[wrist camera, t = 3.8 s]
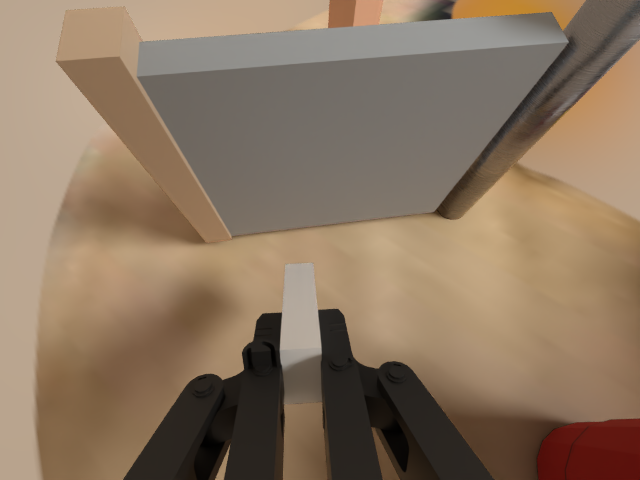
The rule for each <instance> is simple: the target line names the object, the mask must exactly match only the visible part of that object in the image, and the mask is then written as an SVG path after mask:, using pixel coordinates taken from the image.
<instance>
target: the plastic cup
mask: <svg viewBox="0 0 640 480" xmlns="http://www.w3.org/2000/svg"><path fill="white" fill-rule="evenodd" d="M537 466H538V480H640V419H615V420H607V421H604V422H576V423H573V424H570V425H566V426H563V427H560V428H556V429H554V430H553V431H552V432H551V433H550V434H549V435H548V436H547V437H546V438H545V439H544V440H543V441H542V445H541V448H540V451H539V454H538V458H537Z"/></svg>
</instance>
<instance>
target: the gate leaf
mask: <svg viewBox="0 0 640 480" xmlns="http://www.w3.org/2000/svg"><path fill="white" fill-rule="evenodd" d="M568 43H569V41H568V40H567V38H566V36H565V34H564V33H563V31H562V29H561V28H560V26H559V24H558V22H557V20H556V19H555V17H554V15H553V14H552V12H546V13H534V14H519V15H505V16H491V17H477V18H464V19H450V20H436V21H422V22H408V23H394V24H380V25H367V26H353V27H339V28H325V29H311V30H297V31H284V32H270V33H257V34H242V35H228V36H214V37H201V38H187V39H175V40H174V39H173V40H159V41H146V42H143V41H142V39H141V37H140V35H139V33H138V31H137V29H136V27H135V26H134V23H133V22H132V20H131V18H130V16H129V14H128V12H127V10H126V8H125V7H108V8H93V9H77V10H66V12H65V17H64V22H63V27H62V32H61V37H60V42H59V47H58V52H57V57H56V62H57V63H58V65H59V66H60V67H61V68H62V69H63V71H64V72H65V73H66V74H67V75H68V77H69V78H70V79H71V80H72V81H73V83H74V84H75V85H76V86H77V87H78V89H79V90H80V91H81V92H82V94H83V95H84V96H85V97H86V98H87V99H88V101H89V102H90V103H91V104H92V105H93V107H94V108H95V109H96V110H97V112H98V113H99V114H100V115H101V116H102V118H103V119H104V120H105V121H106V122H107V124H108V125H109V126H110V127H111V128H112V130H113V131H114V132H115V133H116V134H117V136H118V137H119V138H120V139H121V140H122V142H123V143H124V144H125V145H126V146H127V148H128V149H129V150H130V151H131V153H132V154H133V155H134V156H135V157H136V159H137V160H138V161H139V162H140V163H141V165H142V166H143V167H144V168H145V169H146V171H147V172H148V173H149V174H150V175H151V177H152V178H153V179H154V180H155V181H156V183H157V184H158V185H159V186H160V187H161V189H162V190H163V191H164V192H165V193H166V195H167V196H168V197H169V198H170V199H171V201H172V202H173V203H174V204H175V206H176V207H177V208H178V209H179V210H180V212H181V213H182V214H183V215H184V216H185V218H186V219H187V220H188V221H189V222H190V224H191V225H192V226H193V227H194V228H195V230H196V231H197V232H198V233H199V234H200V236H201V237H202V238H203V239H204V240H205V242H206V243H210V242H218V241H226V240H232V236H236V235H244V234H253V233H261V232H270V231H278V230H287V229H295V228H304V227H312V226H321V225H329V224H337V223H346V222H354V221H363V220H371V219H380V218H388V217H397V216H405V215H414V214H422V213H431V212H434V211H435V210H436V209H437V208H438V206H439V205H440V204H441V203H442V201H443V200H444V199H445V197H446V196H447V195H448V194H449V192H450V191H451V190H452V189H453V187H454V186H455V185H456V184H457V182H458V181H459V180H460V179H461V177H462V176H463V175H464V174H465V172H466V171H467V170H468V169H469V167H470V166H471V165H472V163H473V162H474V161H475V160H476V158H477V157H478V156H479V155H480V153H481V152H482V151H483V150H484V148H485V147H486V146H487V145H488V143H489V142H490V141H491V140H492V138H493V137H494V136H495V134H496V133H497V132H498V131H499V129H500V128H501V127H502V126H503V124H504V123H505V122H506V121H507V119H508V118H509V117H510V116H511V114H512V113H513V112H514V111H515V109H516V108H517V107H518V106H519V104H520V103H521V102H522V100H523V99H524V98H525V97H526V95H527V94H528V93H529V92H530V90H531V89H532V88H533V87H534V85H535V84H536V83H537V82H538V80H539V79H540V78H541V77H542V75H543V74H544V73H545V72H546V70H547V69H548V68H549V66H550V65H551V64H552V63H553V61H554V60H555V59H556V58H557V56H558V55H559V54H560V53H561V51H562V50H563V49H564V48H565V46H566V45H567V44H568Z"/></svg>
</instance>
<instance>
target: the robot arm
mask: <svg viewBox="0 0 640 480" xmlns="http://www.w3.org/2000/svg"><path fill="white" fill-rule="evenodd" d="M242 357H243V364H244V370H243V371H242V372H241V373H239V374H238V375H236V376H233V377H231V378H228V379H224V380H222V379H221V378H220V377H219V376H217V375H214V374H204V375H201V376H198V377H196V378H194V379H193V380H191V381H190V382H189V383H188V384H187V386H186V387H185V388H184V390H183V391H182V393H181V394H180V396H179V397H178V399H177V400H176V402H175V403H174V405H173V406H172V408H171V409H170V411H169V412H168V414H167V415H166V417H165V418H164V419H163V421H162V422H161V424H160V425H159V427H158V428H157V430H156V431H155V433H154V434H153V436H152V437H151V439H150V440H149V442H148V443H147V445H146V446H145V448H144V449H143V451H142V452H141V454H140V455H139V457H138V458H137V460H136V461H135V463H134V464H133V466H132V467H131V469H130V470H129V472H128V473H127V475H126V476H125V477H124V479H123V480H215V478H216V475H217V473H218V471H219V468H220V466H221V464H222V462H223V459H224V457H225V455H226V452H227V450H228V448H229V445H230V443H231V445H230V450H229V455H228V461H227V466H226V472H225V477H224V480H283V453H284V424H285V415H284V404H299V403H314V402H322V406H323V428H324V438H325V450H326V463H327V476H328V480H383V479H382V475H381V470H380V466H379V461H378V457H377V452H376V448H375V443H374V439H373V434H372V430H371V427H375V429H376V432H377V434H378V436H379V438H380V440H381V442H382V444H383V446H384V448H385V450H386V452H387V454H388V456H389V458H390V460H391V462H392V464H393V466H394V468H395V470H396V472H397V474H398V476H399V478H400V480H494V479H493V477H492V476H491V475H490V473H489V472H488V471H487V469H486V468H485V467H484V465H483V464H482V463H481V461H480V460H479V459H478V457H477V456H476V455H475V453H474V452H473V451H472V449H471V448H470V447H469V445H468V444H467V443H466V441H465V440H464V439H463V437H462V436H461V435H460V433H459V432H458V431H457V429H456V428H455V427H454V425H453V424H452V423H451V421H450V420H449V419H448V417H447V416H446V414H445V413H444V412H443V410H442V409H441V408H440V406H439V405H438V404H437V402H436V401H435V400H434V398H433V397H432V396H431V394H430V393H429V392H428V390H427V389H426V388H425V386H424V385H423V384H422V382H421V381H420V380H419V378H418V377H417V376H416V374H415V373H414V372H413V370H412V369H410V368H409V367H408V366H407V365H405V364H403V363H400V362H395V361H393V362H387V363H384V364H382V365H381V366H380V368H379V369H375V368H370V367H367V366H364V365H362V364H360V363H359V362H357V361H356V360H355V358H354V357H353V354H352V351H351V346H350V342H349V337H348V332H347V328H346V323H345V318H344V315H343V314H342V313H341V312H340V310H339V309H326V310H318V307H317V297H316V287H315V277H314V267H313V263H298V264H285V278H284V293H283V308H282V313H265V314H262V315H261V316H260V317H259V319H258V320H257V323H256V328H255V334H254V339H253V342H251V343H249V344H248V345H247V346H246V347H244V349H243V351H242Z"/></svg>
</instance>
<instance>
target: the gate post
mask: <svg viewBox="0 0 640 480" xmlns="http://www.w3.org/2000/svg"><path fill="white" fill-rule="evenodd" d="M563 33H564V34H565V36H566V38H567V40H568V41H569V43H568V44H567V45H566V46H565V48H564V49H563V50H562V51H561V53H560V54H559V55H558V56H557V58H556V59H555V60H554V61H553V63H552V64H551V65H550V66H549V68H548V69H547V70H546V72H545V73H544V74H543V75H542V77H541V78H540V79H539V80H538V82H537V83H536V84H535V85H534V87H533V88H532V89H531V90H530V92H529V93H528V94H527V95H526V97H525V98H524V99H523V100H522V102H521V103H520V104H519V106H518V107H517V108H516V109H515V111H514V112H513V113H512V114H511V116H510V117H509V118H508V119H507V121H506V122H505V123H504V124H503V126H502V127H501V128H500V129H499V131H498V132H497V133H496V134H495V136H494V137H493V138H492V140H491V141H490V142H489V143H488V145H487V146H486V147H485V148H484V150H483V151H482V152H481V153H480V155H479V156H478V157H477V158H476V160H475V161H474V162H473V163H472V165H471V166H470V167H469V169H468V170H467V171H466V172H465V174H464V175H463V176H462V177H461V179H460V180H459V181H458V182H457V184H456V185H455V186H454V187H453V189H452V190H451V191H450V192H449V194H448V195H447V196H446V197H445V199H444V200H443V201H442V203H441V204H440V205H439V206H438V208H437V210H438V212H439V213H440V214H441V215H442V216H444V217H445V218H448V219H459V218H461V217H462V216H463V215H464V214H465V213H466V212H467V211H468V210H469V209H470V208H471V207H472V206H473V205H474V204H475V203H476V202H477V201H478V200H479V199H480V198H481V197H482V196H483V195H484V194H485V193H486V192H487V191H488V190H489V189H490V188H491V187H492V186H493V185H494V184H495V183H496V182H497V181H498V180H499V179H500V178H501V177H502V176H503V175H504V174H505V173H506V172H507V171H508V170H509V169H510V168H511V167H512V166H513V165H514V164H515V163H516V162H517V161H518V160H519V159H520V158H521V157H522V156H523V155H524V154H525V153H526V152H527V151H528V150H529V149H530V148H531V147H532V146H533V145H534V144H535V143H536V142H537V141H538V140H539V139H540V138H541V137H542V136H543V135H544V134H545V133H546V132H547V131H548V130H549V129H550V128H551V127H552V126H553V125H554V124H555V123H556V122H557V121H558V120H559V119H560V118H561V117H562V116H563V115H564V114H565V113H566V112H567V111H569V110H570V108H571V107H573V106H574V105H575V104H576V102H578V101H579V99H581V98H582V97H583V95H585V94H586V93H587V92H588V91H589V90H590V89H591V88H592V87H593V86H594V85H595V84H596V82H598V81H599V80H600V79H601V78H602V77H603V76H604V74H606V73H607V72H608V71H609V70H610V68H612V67H613V65H615V64H616V63H617V62H618V61H619V60H620V59H621V58H622V57H623V56H624V55H625V54H626V53H627V52H628V51H629V50H630V49H631V48H632V47H633V46H634V45H635V44H636V43H637V42H638V41H639V40H640V0H586V1H585V3H584V4H583V5H582V6H581V8H580V9H579V10H578V12H577V13H576V14H575V16H574V17H573V19H572V20H571V21H570V23H569V24H568V25H567V27H566V28H565V29H564V31H563Z"/></svg>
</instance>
